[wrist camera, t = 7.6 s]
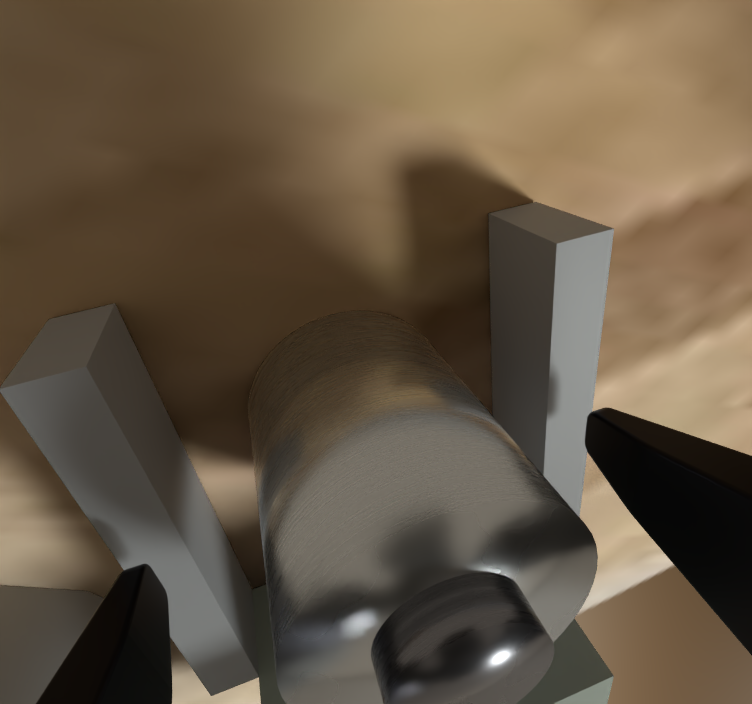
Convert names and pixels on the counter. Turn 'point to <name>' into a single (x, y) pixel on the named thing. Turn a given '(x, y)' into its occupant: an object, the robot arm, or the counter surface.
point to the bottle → (403, 526)
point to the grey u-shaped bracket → (190, 502)
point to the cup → (38, 636)
